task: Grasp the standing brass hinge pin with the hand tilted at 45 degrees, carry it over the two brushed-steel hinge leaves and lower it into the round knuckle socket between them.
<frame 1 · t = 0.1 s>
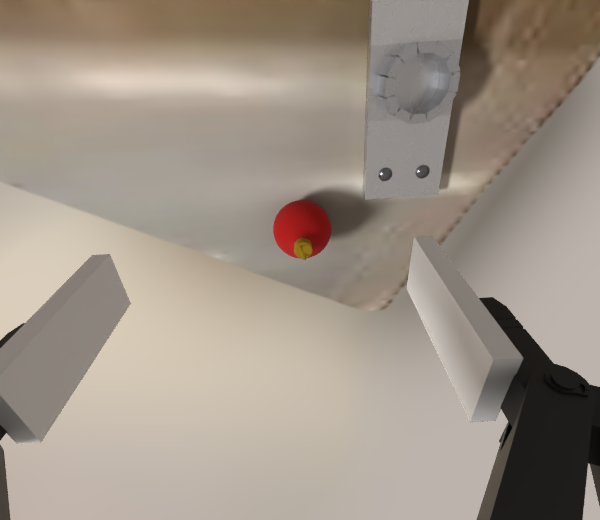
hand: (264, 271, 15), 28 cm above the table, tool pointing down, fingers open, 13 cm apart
hinge leaves: (408, 81, 36), on the table
christmas ornament: (301, 216, 44), on the table
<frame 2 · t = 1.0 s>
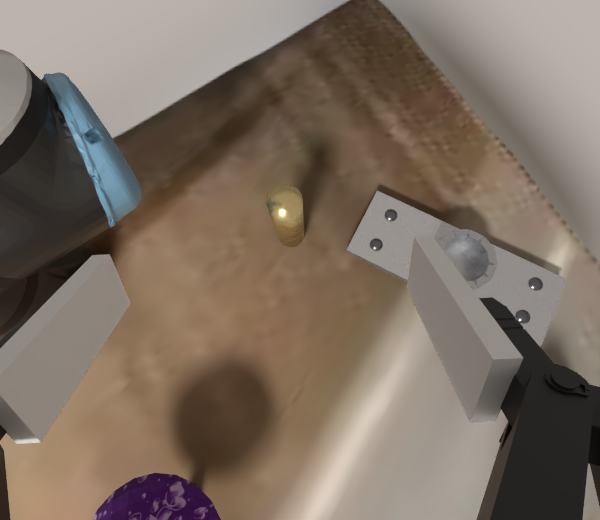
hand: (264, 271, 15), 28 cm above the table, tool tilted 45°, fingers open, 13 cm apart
hinge leaves: (449, 266, 42), on the table
decorative mushroom: (191, 501, 37), on the table
hinge pin: (290, 233, 44), on the table
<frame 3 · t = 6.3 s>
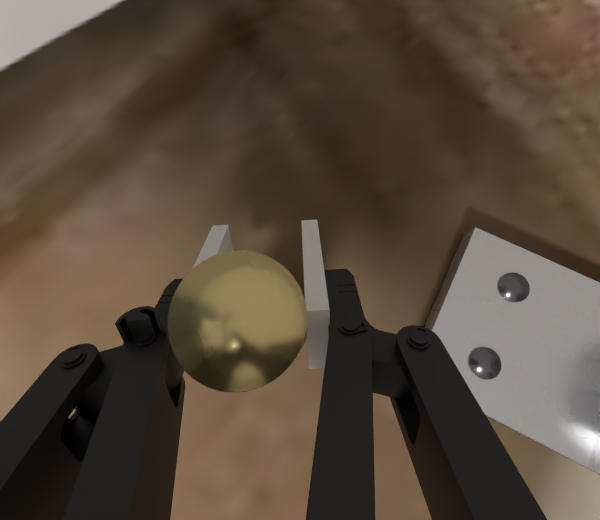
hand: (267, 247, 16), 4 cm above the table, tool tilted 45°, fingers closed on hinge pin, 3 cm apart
hinge pin: (277, 327, 19), on the table, touching gripper
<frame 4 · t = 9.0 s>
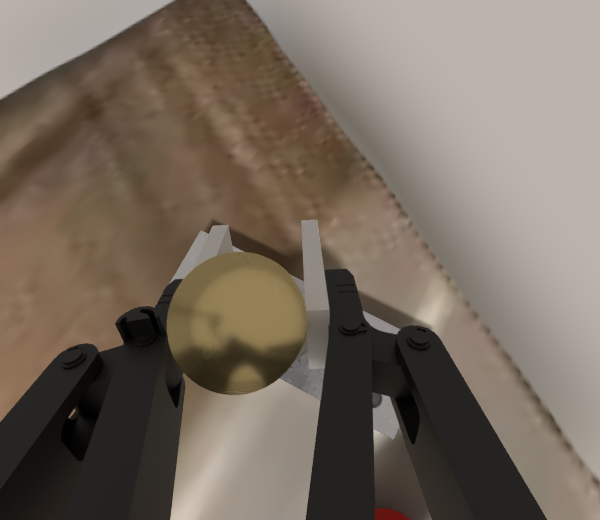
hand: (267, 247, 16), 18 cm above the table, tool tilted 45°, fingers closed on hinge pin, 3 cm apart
hinge leaves: (291, 327, 33), on the table
hinge pin: (277, 328, 19), point 14 cm above the table, touching gripper
when the fingers open (7 cm above the table, at t = 11.7 s): hinge pin drops 1 cm, resting on hinge leaves.
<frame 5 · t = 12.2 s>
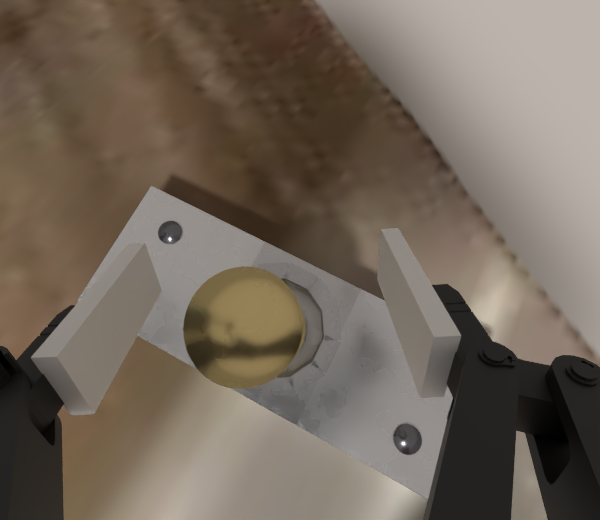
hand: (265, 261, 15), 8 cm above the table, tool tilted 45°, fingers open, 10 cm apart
hinge leaves: (281, 328, 22), on the table
hinge pin: (278, 329, 21), point 2 cm above the table, touching hinge leaves
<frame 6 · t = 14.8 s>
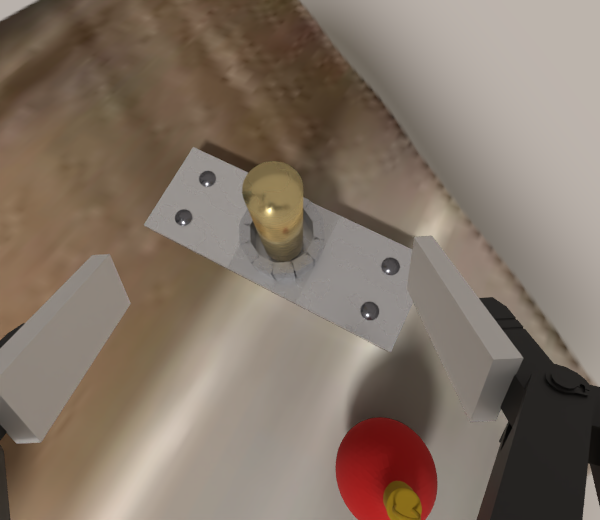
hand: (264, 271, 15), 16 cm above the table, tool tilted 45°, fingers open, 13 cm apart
hinge leaves: (285, 245, 32), on the table
christmas ornament: (374, 453, 28), on the table
hinge pin: (283, 242, 30), point 2 cm above the table, touching hinge leaves
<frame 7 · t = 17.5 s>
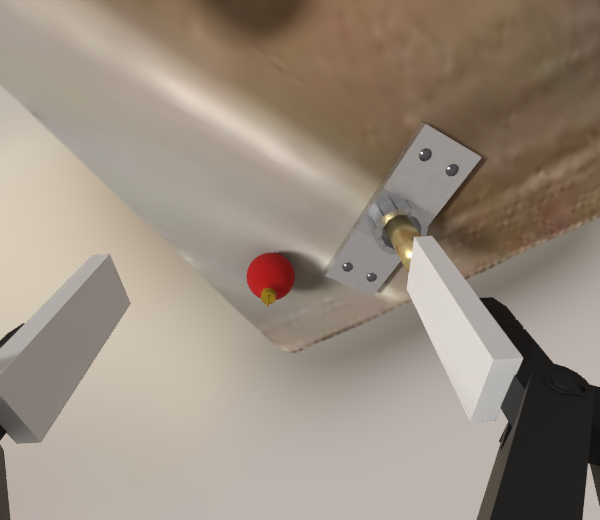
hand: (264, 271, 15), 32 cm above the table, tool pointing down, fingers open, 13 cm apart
hinge leaves: (392, 218, 48), on the table
christmas ornament: (272, 263, 52), on the table
hinge pin: (395, 222, 47), point 2 cm above the table, touching hinge leaves
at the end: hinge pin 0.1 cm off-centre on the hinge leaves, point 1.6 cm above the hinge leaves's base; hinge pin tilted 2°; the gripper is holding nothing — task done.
